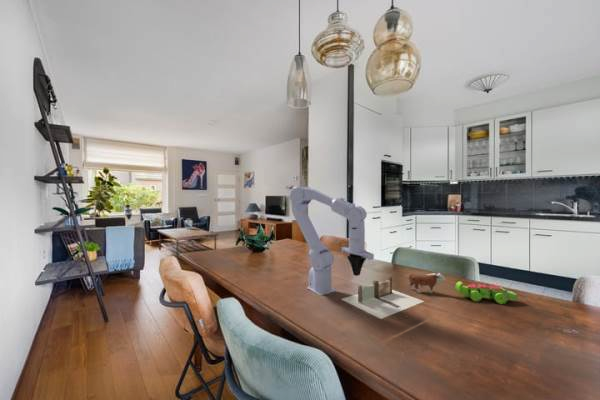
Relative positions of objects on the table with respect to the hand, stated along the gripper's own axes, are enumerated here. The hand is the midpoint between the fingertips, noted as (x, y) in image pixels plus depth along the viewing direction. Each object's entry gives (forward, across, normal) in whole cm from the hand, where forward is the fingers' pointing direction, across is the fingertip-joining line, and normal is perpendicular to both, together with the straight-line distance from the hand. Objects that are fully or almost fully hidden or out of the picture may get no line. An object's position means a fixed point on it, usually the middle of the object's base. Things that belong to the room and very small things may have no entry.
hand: (356, 274), depth 95 cm
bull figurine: (+9, -11, -28) cm, 31 cm away
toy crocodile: (+9, -27, -40) cm, 49 cm away
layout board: (+9, -7, -6) cm, 13 cm away
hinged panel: (+8, -4, -1) cm, 9 cm away
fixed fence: (+9, -4, -10) cm, 14 cm away
